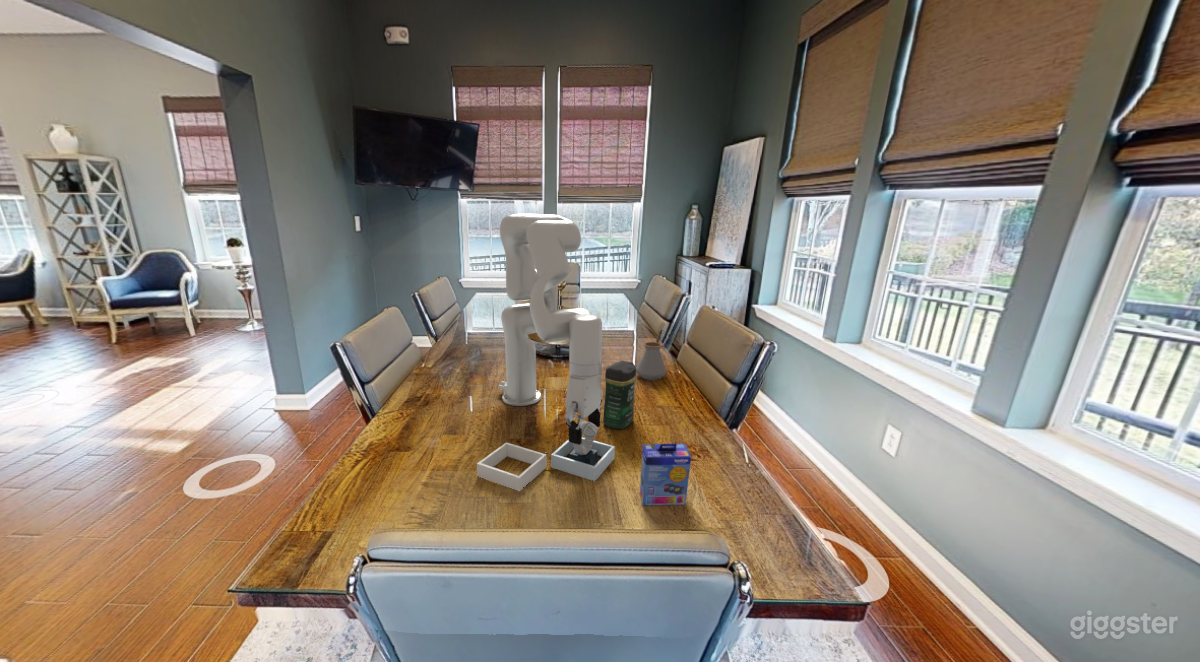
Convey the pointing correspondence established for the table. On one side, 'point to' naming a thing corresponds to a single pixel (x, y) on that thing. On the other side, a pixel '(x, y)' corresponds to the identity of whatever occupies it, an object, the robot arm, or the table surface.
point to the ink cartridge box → (664, 474)
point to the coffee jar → (619, 395)
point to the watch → (586, 445)
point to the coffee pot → (652, 361)
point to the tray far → (578, 467)
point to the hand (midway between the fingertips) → (584, 434)
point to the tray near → (506, 478)
